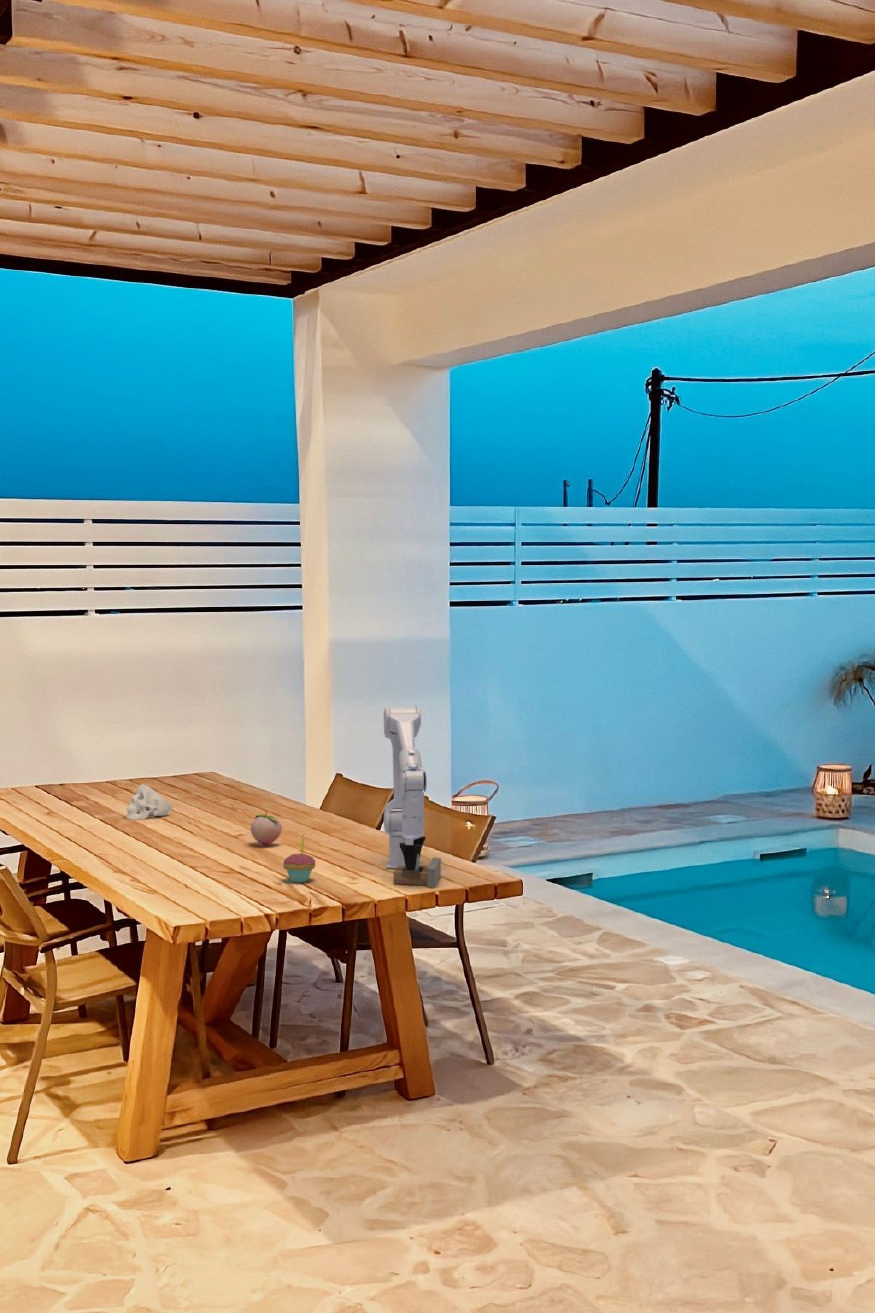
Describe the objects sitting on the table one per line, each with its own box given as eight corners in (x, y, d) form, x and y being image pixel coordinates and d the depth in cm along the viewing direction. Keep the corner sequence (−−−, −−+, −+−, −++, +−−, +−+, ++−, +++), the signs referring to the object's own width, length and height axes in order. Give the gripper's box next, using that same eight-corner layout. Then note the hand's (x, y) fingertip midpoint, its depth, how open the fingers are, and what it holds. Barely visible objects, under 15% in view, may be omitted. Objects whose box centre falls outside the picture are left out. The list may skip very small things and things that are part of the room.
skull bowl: (115, 813, 439) (133, 780, 442) (148, 832, 446) (166, 800, 449) (127, 817, 430) (146, 784, 433) (161, 837, 437) (179, 804, 441)
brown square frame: (398, 876, 353) (398, 865, 353) (432, 877, 352) (432, 866, 352) (393, 883, 344) (393, 872, 344) (428, 885, 343) (428, 873, 343)
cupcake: (292, 876, 353) (292, 831, 352) (321, 879, 350) (321, 833, 349) (277, 882, 345) (277, 837, 344) (306, 885, 342) (306, 839, 341)
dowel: (406, 879, 350) (406, 853, 350) (419, 880, 350) (419, 853, 349) (404, 882, 346) (404, 856, 346) (418, 883, 346) (418, 856, 346)
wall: (433, 876, 354) (433, 857, 354) (440, 876, 354) (440, 857, 354) (426, 887, 341) (427, 868, 340) (434, 888, 340) (434, 868, 340)
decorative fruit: (244, 846, 392) (244, 813, 391) (260, 842, 399) (260, 809, 399) (270, 849, 387) (270, 816, 387) (286, 845, 395) (286, 811, 394)
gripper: (401, 810, 355) (401, 861, 356) (393, 820, 340) (393, 872, 341) (427, 811, 354) (427, 862, 355) (421, 821, 340) (420, 873, 340)
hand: (412, 867), depth 348 cm, fingers open, 7 cm apart
